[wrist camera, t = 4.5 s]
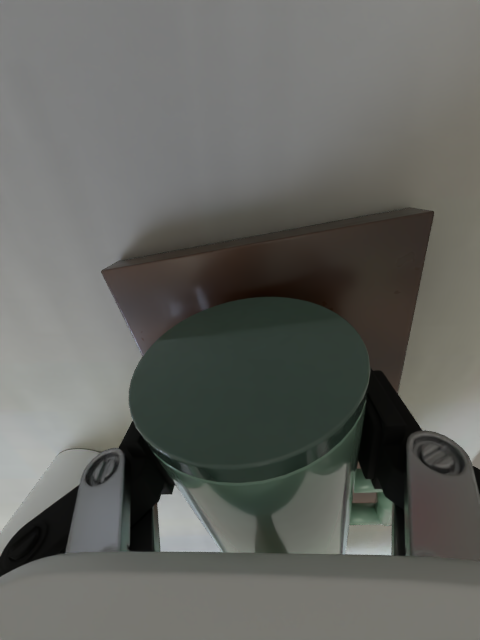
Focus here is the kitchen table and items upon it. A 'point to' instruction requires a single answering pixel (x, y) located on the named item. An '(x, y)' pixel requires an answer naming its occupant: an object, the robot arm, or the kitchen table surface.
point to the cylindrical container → (49, 489)
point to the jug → (262, 423)
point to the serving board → (291, 281)
